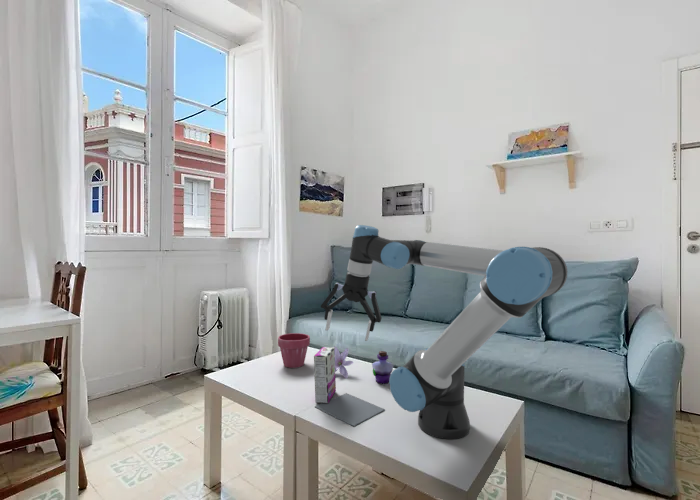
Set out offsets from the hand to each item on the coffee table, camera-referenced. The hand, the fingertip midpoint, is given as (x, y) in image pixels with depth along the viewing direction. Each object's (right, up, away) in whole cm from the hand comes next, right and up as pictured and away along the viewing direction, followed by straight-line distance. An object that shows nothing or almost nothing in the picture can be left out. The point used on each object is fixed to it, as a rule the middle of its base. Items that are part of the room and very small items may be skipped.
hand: (346, 334), depth 119 cm
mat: (+1, -25, 0) cm, 25 cm away
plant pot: (-24, -24, +43) cm, 55 cm away
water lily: (-4, -25, +32) cm, 41 cm away
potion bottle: (+14, -25, +24) cm, 37 cm away
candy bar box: (-8, -25, +9) cm, 27 cm away
